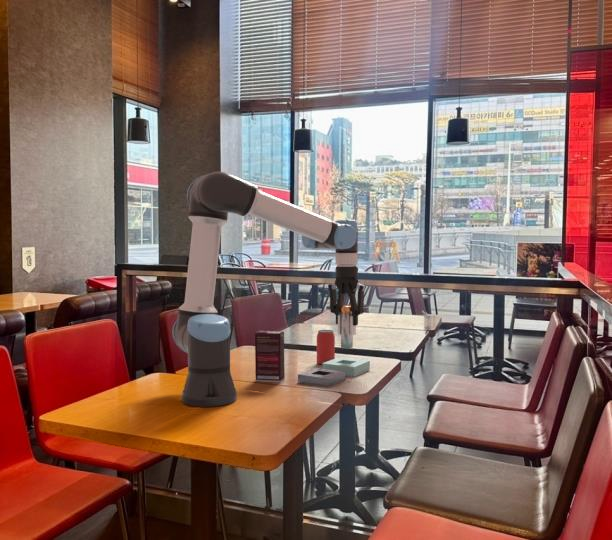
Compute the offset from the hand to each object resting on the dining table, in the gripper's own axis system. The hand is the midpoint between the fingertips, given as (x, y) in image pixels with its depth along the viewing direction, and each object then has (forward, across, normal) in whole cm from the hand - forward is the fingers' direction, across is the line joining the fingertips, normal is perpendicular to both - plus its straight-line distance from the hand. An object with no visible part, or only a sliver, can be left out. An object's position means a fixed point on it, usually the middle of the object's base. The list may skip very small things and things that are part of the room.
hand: (346, 334), depth 198 cm
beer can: (+13, +13, -9) cm, 21 cm away
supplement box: (+13, +15, +24) cm, 31 cm away
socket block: (+13, 0, 0) cm, 13 cm away
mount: (+13, 0, +17) cm, 21 cm away
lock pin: (+4, 0, 0) cm, 4 cm away
